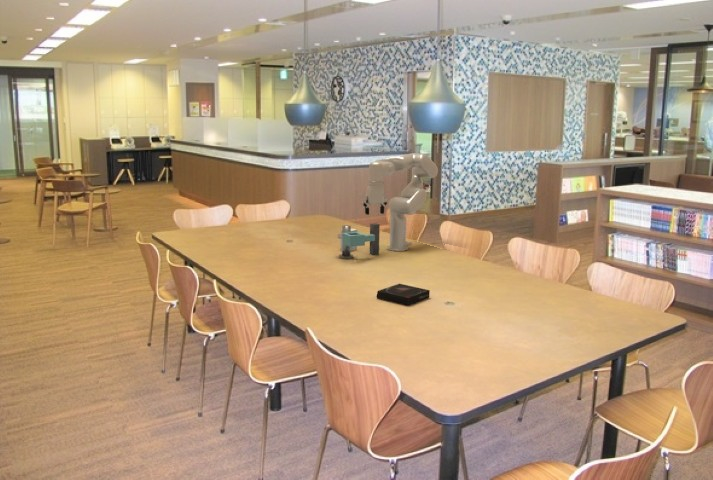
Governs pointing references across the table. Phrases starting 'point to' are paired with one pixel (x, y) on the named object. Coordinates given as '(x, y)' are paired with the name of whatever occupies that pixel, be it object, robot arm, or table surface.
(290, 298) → the table surface
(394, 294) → the portable cd player
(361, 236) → the teal square frame handle
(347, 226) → the grey tall round-topped piece
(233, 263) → the table surface
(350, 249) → the supplement box
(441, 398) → the table surface
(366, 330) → the table surface
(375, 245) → the steel wedge pin
